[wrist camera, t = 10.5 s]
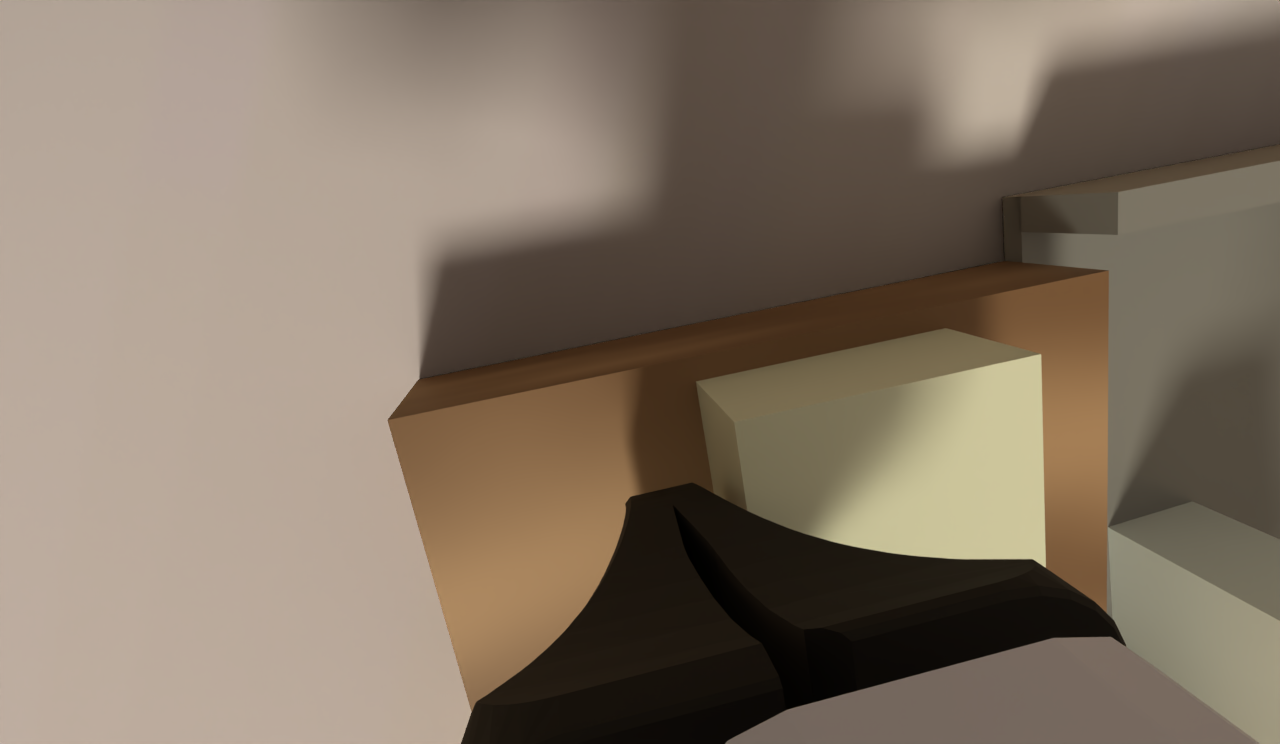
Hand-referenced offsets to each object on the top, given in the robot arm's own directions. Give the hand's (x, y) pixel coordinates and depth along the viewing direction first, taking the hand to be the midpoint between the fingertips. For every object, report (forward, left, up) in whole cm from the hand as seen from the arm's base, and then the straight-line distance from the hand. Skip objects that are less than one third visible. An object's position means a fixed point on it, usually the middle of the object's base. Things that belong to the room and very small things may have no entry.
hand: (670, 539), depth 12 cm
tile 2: (0, -4, 0) cm, 4 cm away
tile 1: (-7, -13, -1) cm, 15 cm away
